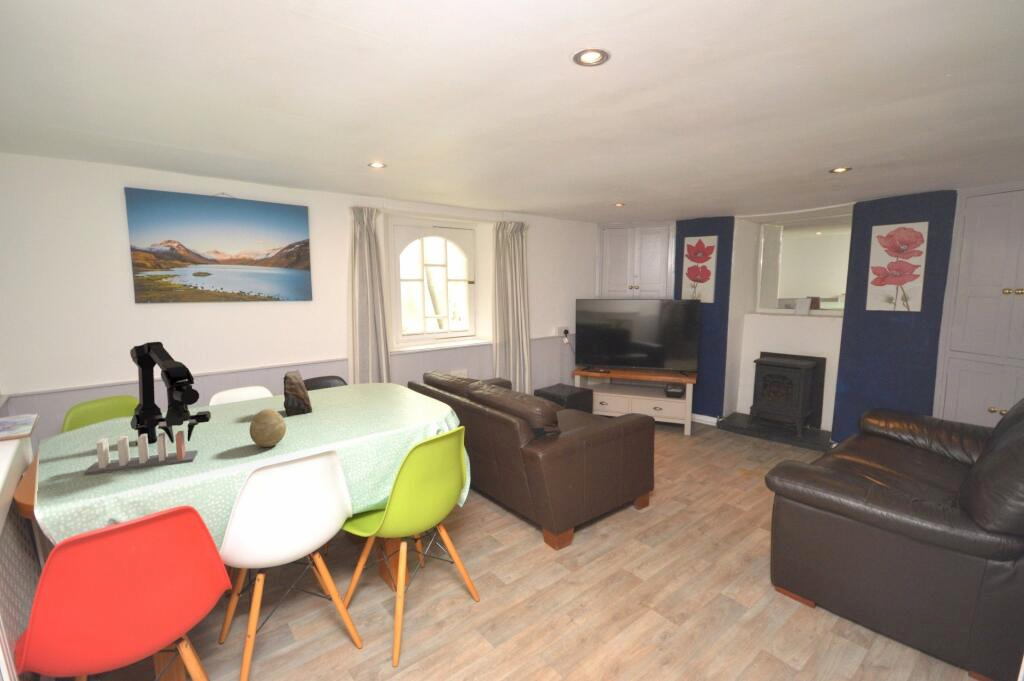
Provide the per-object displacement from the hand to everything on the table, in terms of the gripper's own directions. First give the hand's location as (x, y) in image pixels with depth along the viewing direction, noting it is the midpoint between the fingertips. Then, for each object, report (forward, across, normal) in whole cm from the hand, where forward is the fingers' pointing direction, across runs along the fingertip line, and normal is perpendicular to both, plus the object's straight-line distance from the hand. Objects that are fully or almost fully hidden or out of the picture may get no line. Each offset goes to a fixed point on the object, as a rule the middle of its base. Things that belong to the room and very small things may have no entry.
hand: (180, 441), depth 166 cm
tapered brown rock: (+7, +39, +47) cm, 61 cm away
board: (+6, -11, 0) cm, 13 cm away
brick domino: (+5, 0, -1) cm, 5 cm away
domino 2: (+5, -16, 0) cm, 17 cm away
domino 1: (+5, -22, 0) cm, 23 cm away
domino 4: (+5, -6, 0) cm, 8 cm away
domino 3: (+5, -11, 0) cm, 12 cm away
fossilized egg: (+7, +28, +3) cm, 29 cm away
